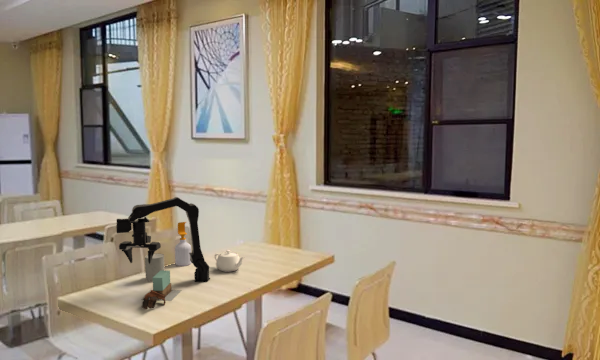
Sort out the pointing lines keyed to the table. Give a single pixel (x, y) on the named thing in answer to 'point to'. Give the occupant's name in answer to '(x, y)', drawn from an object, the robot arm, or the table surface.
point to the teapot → (228, 261)
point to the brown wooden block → (163, 292)
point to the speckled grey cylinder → (154, 265)
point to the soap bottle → (182, 247)
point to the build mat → (170, 295)
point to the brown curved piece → (152, 299)
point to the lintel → (161, 280)
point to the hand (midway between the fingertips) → (140, 263)
